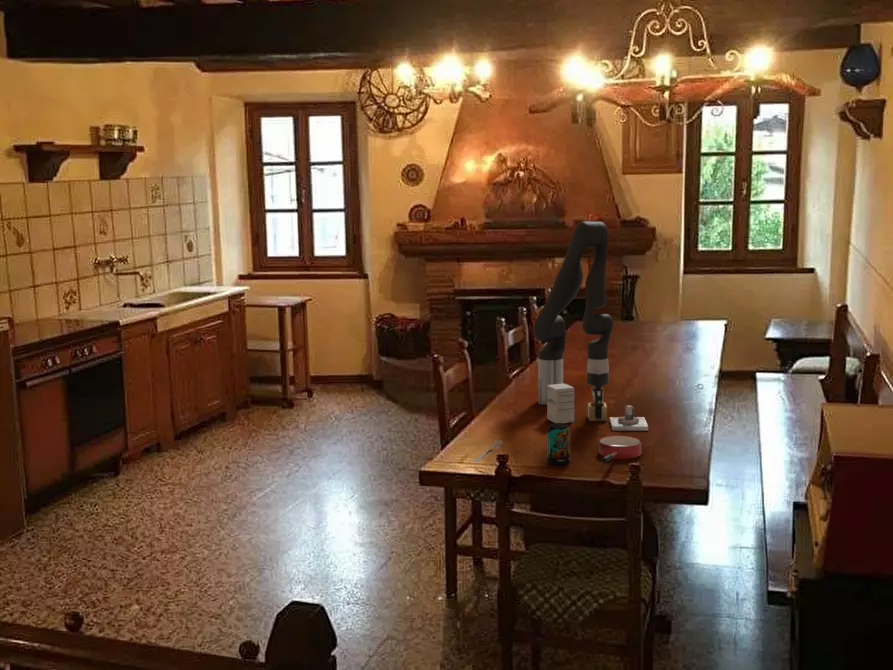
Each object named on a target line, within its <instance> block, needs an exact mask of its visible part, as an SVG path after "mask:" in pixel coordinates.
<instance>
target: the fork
mask: <svg viewBox="0 0 893 670" xmlns="http://www.w3.org/2000/svg"><path fill="white" fill-rule="evenodd" d="M503 441H504V440H501V439H500V440H499V439H497V440H495V441H493V443H492V444H491V446H489V448H488V449H486V450H485V451H484V452H483V453H482V454H480V455H479V456H478V457H476V458H475V459H474V460H473V461H472V462H473V463H478V462H480V460H482V459H483V458H484V456H485V455H486V454H487V453H488V452H489V451H493V449H499V448H501V446H502V443H503ZM490 448H492V449H490Z"/></svg>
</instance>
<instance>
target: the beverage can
mask: <svg viewBox="0 0 893 670" xmlns="http://www.w3.org/2000/svg"><path fill="white" fill-rule="evenodd" d="M546 462H547V464H549V465H550V466H552V467H566V466H568V465H569V464H570V462H571V430H570V428H569V425H568V424H567V423H554V422H552V423H550V424H549V425H548V428H547V430H546Z"/></svg>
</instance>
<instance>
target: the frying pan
mask: <svg viewBox="0 0 893 670" xmlns="http://www.w3.org/2000/svg"><path fill="white" fill-rule="evenodd" d="M598 453H599V455H600V456H601V457H602V458H601V463H603V464H605V463H607V462H609V461H610V460H633V459H636V458H638V457H640V456H641V454H642V440H641V438H639V437H637V436H634V435H633V436H632V435H626V434H612V435H605V436H602V437H600V438H599V439H598Z"/></svg>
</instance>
